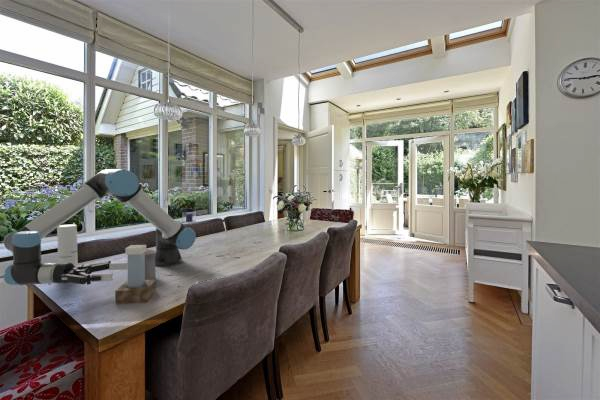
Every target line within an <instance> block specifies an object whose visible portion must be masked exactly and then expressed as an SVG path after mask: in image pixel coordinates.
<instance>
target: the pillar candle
mask: <svg viewBox="0 0 600 400" xmlns="http://www.w3.org/2000/svg"><path fill="white" fill-rule="evenodd" d="M155 252H156V250H154V249H146V251H145V280H156V266H155Z"/></svg>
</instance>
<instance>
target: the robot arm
mask: <svg viewBox="0 0 600 400" xmlns="http://www.w3.org/2000/svg"><path fill="white" fill-rule="evenodd" d="M110 195H111V196H113V197H114V198H115V199H116V200H117V201H118V202H120V203H121V204H128V205H129V206H130V207H131V209H134V210H135V211H136V212H137V213H139V215H141V216H142V217H143V218H144V219H145V220H147V221H148V222H149V223H150V224H151V225H152V226H153V227H154V228H155V267H171V266H175V265H178V264H181V263H182V262H183V261H182V260H183V258H182V255H181V252H180V250H183V251H184V250H188V249H190V248H192V247H193V245H194V244H195V242H196V239H197V238H196V237H197V236H196V235H197V234H196V232H195V230H194V229H193V228H191V227H187V226H186V225H185V224H184V223H182V221H180V220H175V219H174V218H173V217H171V215H169V213H167V211H165V210H164V209H163V208H162V207H161V206H160V205H159V204H158V203H157V202H155V200H154V199H152V198H151V197H150V196H149V195H148V194H147V193H146V192H145V191H144V190H143V185H142V184H141V183H140V182H139V178H138V177H137V175H136V174H135V173H133V172H132V171H130V170H127V169H126V168H125V169H124V168H113V169H112V168H108V169H107V168H106V169H103V170H101V171H99V172H97V173H96V174H95V175H93V176H92V177H90V178H89V179H88V180H86V181H85V182H83V183H82V184H81V187H80V188H79V189H77V190H76V191H74V192H73V193H71V194H70V195H68V196H67V197H66V198H64V199H63V200H61V201H59V202H58V203H57V204H55V205H54V206H52V207H51V208H49V209H48V210H46V211H45V212H44V213H42V214H40V215H39V216H37V217H36V218H34V219H33V220H32V221H30V222H28V223H27V224H26V225H24V226H22V227H21V228H19V229H17V230H16V231H12V232H9V233H8V234H6V236H5V237H4V238H3V245H4V247H5V249H6V250H8V251H9V252H11V253H12V259H13V260H12V261H13V262H12V264H10V265H9V266H7V267H6V268H5V270H4V274H3V281H4V282H5V283H6V284H7V285H11V286H12V285H13V286H14V285H15V286H17V285H18V286H19V285H20V286H26V285H48V286H51V285H52V284H68V283H71V284H78V285H85V284H86V285H88V286H89V285H91V284H92V283H93V282H95V283H97V282H112V281H113V273H112V272H109V273H107V272H106V273H104V272H103V273H102V272H101V271H106V270H110V271H115V270H116V271H121V270H122V271H123V270H125V271H126V270H128V262H112V261H111V260H108V261H103V262H102V261H101V262H95V263H86V264H85V263H83V264H81V265H78V266H77V267H74V265H73V264H72V263H58V262H49V263H48V262H46V263H45V262H44V263H42V239H44V238H45V237H46V236H48V235H49V234H51V232H53V231H55V229H56V230H57V227H58V226H60V225H64V223H65V222H67V221H68V220H69V219H71V218H73V217H74V216H76V214H78V213H79V212H80V211H82V210H83V209H85V208H86V207H88V206H90V205H91V204H92V203H93V202H95V201H100V200H101V199H103V198H105V197H106V196H110ZM96 272H101V273H96Z"/></svg>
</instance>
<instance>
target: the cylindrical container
mask: <svg viewBox="0 0 600 400" xmlns="http://www.w3.org/2000/svg"><path fill="white" fill-rule="evenodd" d="M56 231H57V232H56V233H57V260H58V261H57V263H72V264H73V265H74V267H77V266H79V264H78V263H79V262H78V255H79V254H78V226H77V224H61V225H60V226H58V227H57V228H56Z"/></svg>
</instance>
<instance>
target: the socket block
mask: <svg viewBox="0 0 600 400" xmlns="http://www.w3.org/2000/svg"><path fill="white" fill-rule="evenodd" d="M156 292H157V279H155V280H145V285H144V286H143V287H135V288H128V280H126V281H125V282H124V283H122V284H121V285H120V286H119V287H118V288H116V289H115V292H114V294H115V295H114V298H115V305H118V304H119V305H120V304H138V303H142V304H143V303H148V302H149V300H151V298H153V296H154V295H155V293H156Z"/></svg>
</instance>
